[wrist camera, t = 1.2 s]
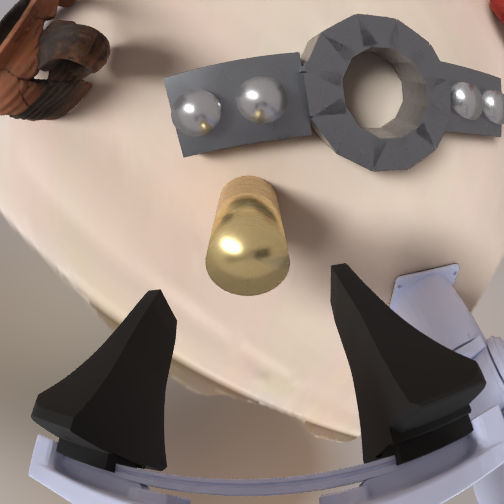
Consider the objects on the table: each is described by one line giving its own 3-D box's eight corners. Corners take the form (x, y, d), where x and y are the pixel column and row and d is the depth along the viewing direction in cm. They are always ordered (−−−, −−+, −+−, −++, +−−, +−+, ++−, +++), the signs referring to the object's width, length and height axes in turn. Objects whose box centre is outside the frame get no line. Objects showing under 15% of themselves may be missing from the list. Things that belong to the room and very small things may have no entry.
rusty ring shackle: (22, 130, 15) (-50, 111, 6) (66, 35, 13) (10, -1, 5) (119, 134, 13) (10, 85, 5) (175, 13, 12) (122, -64, 4)
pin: (280, 223, 20) (293, 289, 14) (226, 232, 20) (217, 299, 14) (272, 171, 17) (284, 221, 12) (213, 181, 18) (195, 236, 12)
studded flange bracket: (485, 155, 15) (507, 167, 13) (198, 180, 18) (189, 198, 15) (483, 51, 10) (507, 54, 8) (165, 48, 12) (148, 42, 10)
